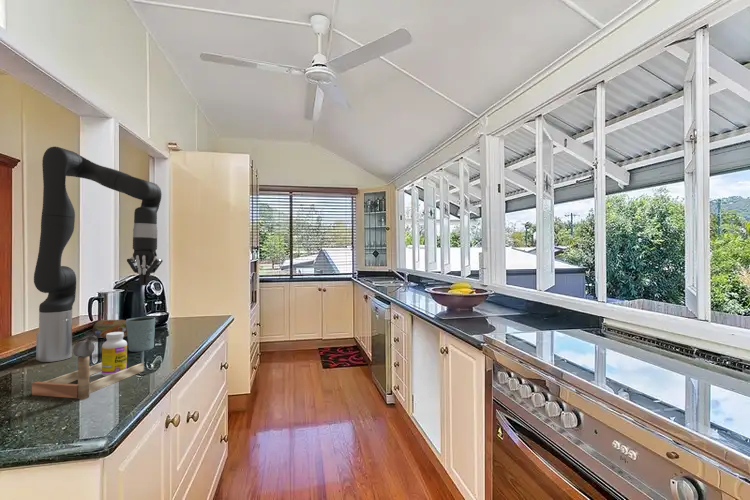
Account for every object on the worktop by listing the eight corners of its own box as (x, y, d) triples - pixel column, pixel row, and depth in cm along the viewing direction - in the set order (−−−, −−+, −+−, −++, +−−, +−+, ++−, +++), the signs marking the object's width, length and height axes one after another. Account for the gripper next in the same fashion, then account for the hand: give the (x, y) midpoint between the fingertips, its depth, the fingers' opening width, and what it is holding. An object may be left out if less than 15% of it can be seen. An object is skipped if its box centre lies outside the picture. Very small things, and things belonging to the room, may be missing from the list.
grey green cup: (156, 349, 152) (156, 319, 152) (125, 353, 147) (126, 321, 147) (153, 344, 161) (154, 315, 161) (125, 347, 155) (125, 318, 155)
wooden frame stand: (105, 368, 128) (106, 318, 128) (156, 371, 125) (156, 320, 125) (26, 396, 103) (27, 334, 103) (87, 401, 100) (88, 337, 100)
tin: (91, 339, 170) (92, 320, 170) (97, 337, 173) (97, 318, 173) (126, 339, 170) (126, 320, 170) (130, 337, 173) (131, 319, 173)
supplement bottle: (114, 377, 119) (114, 336, 119) (96, 376, 120) (96, 334, 120) (131, 371, 125) (132, 331, 125) (114, 369, 127) (115, 330, 127)
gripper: (120, 236, 135) (119, 285, 135) (154, 236, 133) (153, 286, 133) (136, 237, 143) (135, 284, 142) (169, 237, 141) (168, 284, 140)
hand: (144, 285), depth 138 cm, fingers closed
